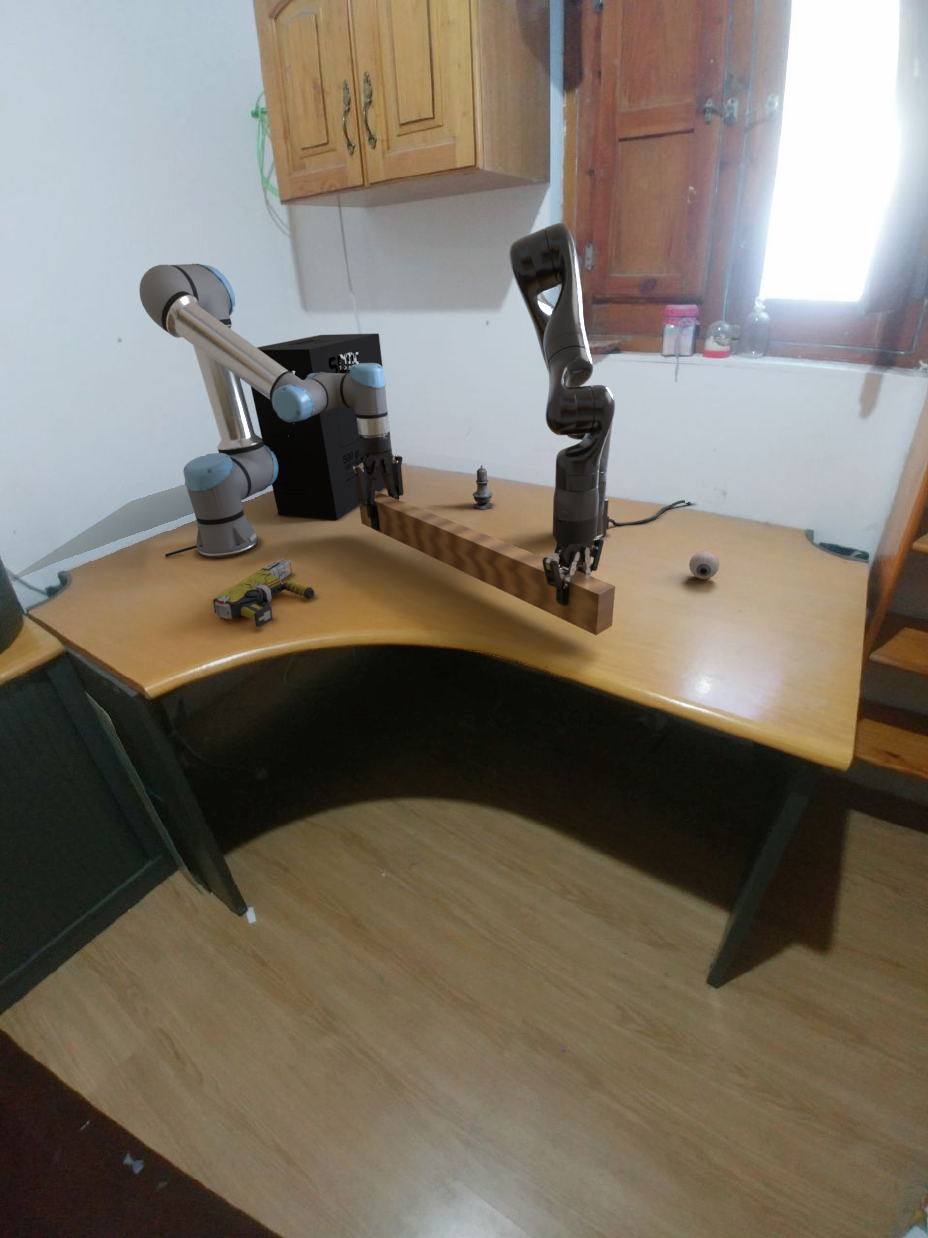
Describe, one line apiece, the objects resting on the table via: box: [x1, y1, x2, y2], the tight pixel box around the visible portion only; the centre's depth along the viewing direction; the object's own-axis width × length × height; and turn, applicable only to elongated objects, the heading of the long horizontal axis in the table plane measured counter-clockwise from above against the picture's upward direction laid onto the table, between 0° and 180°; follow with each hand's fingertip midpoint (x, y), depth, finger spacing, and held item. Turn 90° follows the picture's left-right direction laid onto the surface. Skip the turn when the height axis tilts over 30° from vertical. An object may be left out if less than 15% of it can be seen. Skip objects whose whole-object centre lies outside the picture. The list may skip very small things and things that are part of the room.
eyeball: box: [688, 550, 720, 580], centre depth 128 cm, size 6×6×6 cm
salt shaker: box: [472, 464, 494, 510], centre depth 174 cm, size 6×6×12 cm
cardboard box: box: [250, 333, 393, 521], centre depth 180 cm, size 38×20×45 cm, turn 159°
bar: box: [358, 491, 616, 636], centre depth 132 cm, size 78×4×8 cm, turn 40°
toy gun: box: [212, 558, 315, 628], centre depth 130 cm, size 5×24×15 cm
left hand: (384, 526), depth 154 cm, fingers closed on bar, 5 cm apart
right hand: (571, 598), depth 111 cm, fingers closed on bar, 4 cm apart
